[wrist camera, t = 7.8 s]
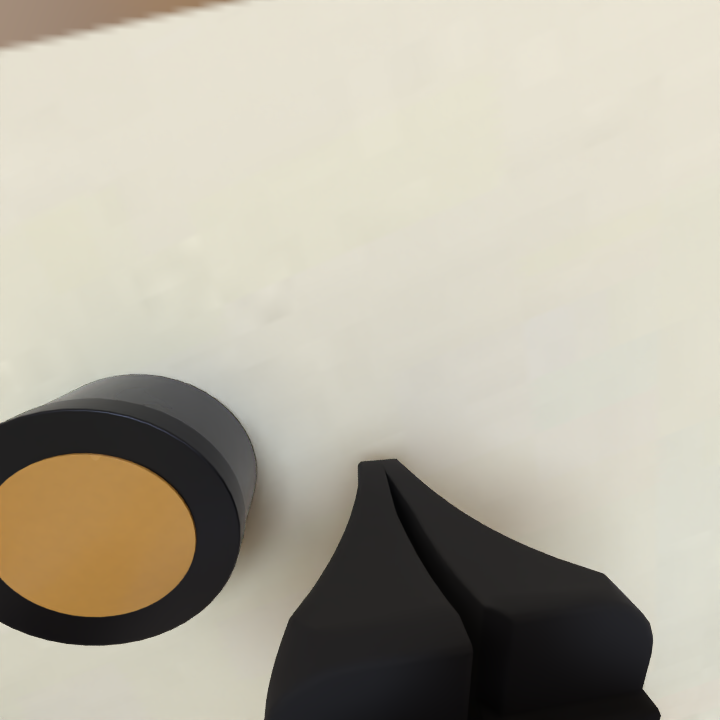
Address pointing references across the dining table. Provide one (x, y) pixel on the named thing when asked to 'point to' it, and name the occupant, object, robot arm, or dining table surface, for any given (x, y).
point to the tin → (120, 510)
